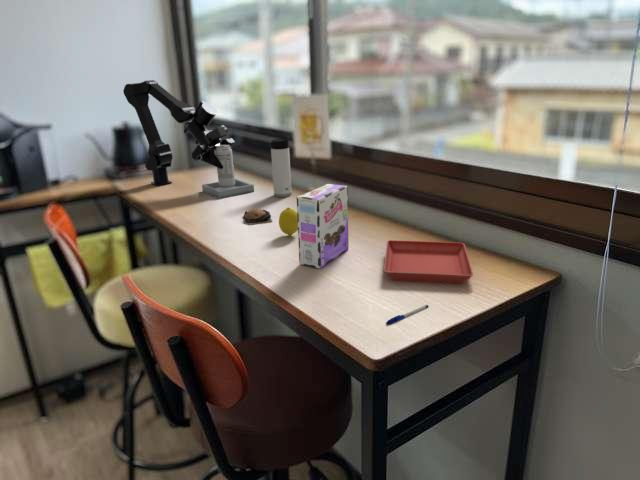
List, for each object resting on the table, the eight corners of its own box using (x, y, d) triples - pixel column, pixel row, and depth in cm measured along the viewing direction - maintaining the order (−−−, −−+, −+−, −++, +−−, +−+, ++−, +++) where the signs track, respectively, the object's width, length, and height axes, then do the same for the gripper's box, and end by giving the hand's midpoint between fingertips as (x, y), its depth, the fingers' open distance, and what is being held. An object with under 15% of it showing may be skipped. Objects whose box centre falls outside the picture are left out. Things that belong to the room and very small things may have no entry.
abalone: (274, 224, 141) (273, 212, 140) (246, 227, 139) (245, 215, 137) (267, 214, 150) (267, 202, 149) (241, 217, 148) (240, 205, 147)
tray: (202, 191, 178) (201, 184, 177) (236, 184, 186) (235, 178, 185) (219, 198, 167) (218, 191, 167) (254, 191, 175) (253, 184, 174)
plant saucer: (472, 289, 97) (474, 274, 96) (383, 285, 100) (383, 270, 99) (463, 255, 113) (464, 242, 112) (386, 252, 116) (387, 240, 115)
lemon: (303, 233, 130) (301, 205, 128) (295, 240, 126) (294, 211, 123) (284, 231, 132) (282, 204, 129) (276, 238, 127) (274, 209, 125)
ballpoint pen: (388, 326, 84) (389, 321, 83) (385, 324, 85) (385, 319, 84) (428, 308, 90) (429, 303, 89) (425, 306, 90) (425, 301, 90)
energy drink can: (237, 184, 179) (233, 144, 173) (233, 188, 173) (228, 147, 168) (221, 184, 179) (217, 144, 174) (217, 188, 174) (212, 147, 168)
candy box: (320, 269, 107) (317, 199, 102) (298, 265, 110) (294, 196, 105) (349, 249, 118) (348, 184, 112) (329, 245, 121) (327, 182, 115)
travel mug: (292, 197, 166) (288, 139, 159) (273, 197, 166) (269, 139, 159) (293, 192, 172) (290, 136, 165) (275, 193, 172) (271, 137, 165)
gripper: (193, 121, 162) (222, 156, 161) (228, 115, 177) (255, 147, 176) (179, 143, 168) (206, 177, 167) (214, 136, 183) (239, 166, 182)
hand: (228, 166), depth 173 cm, fingers closed on energy drink can, 6 cm apart
